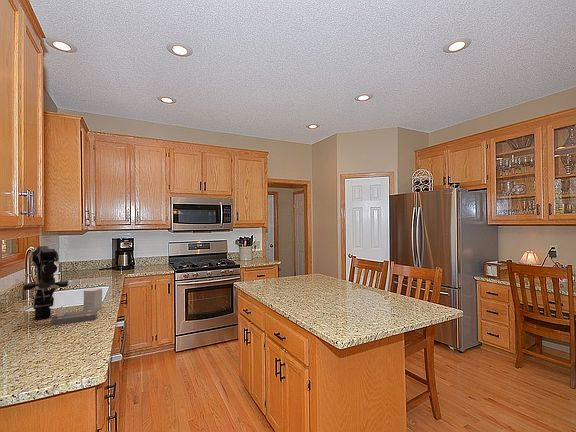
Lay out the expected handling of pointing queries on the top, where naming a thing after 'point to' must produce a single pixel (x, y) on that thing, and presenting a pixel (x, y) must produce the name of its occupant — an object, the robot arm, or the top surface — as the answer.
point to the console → (74, 317)
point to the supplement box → (93, 299)
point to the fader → (61, 311)
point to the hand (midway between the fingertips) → (46, 301)
